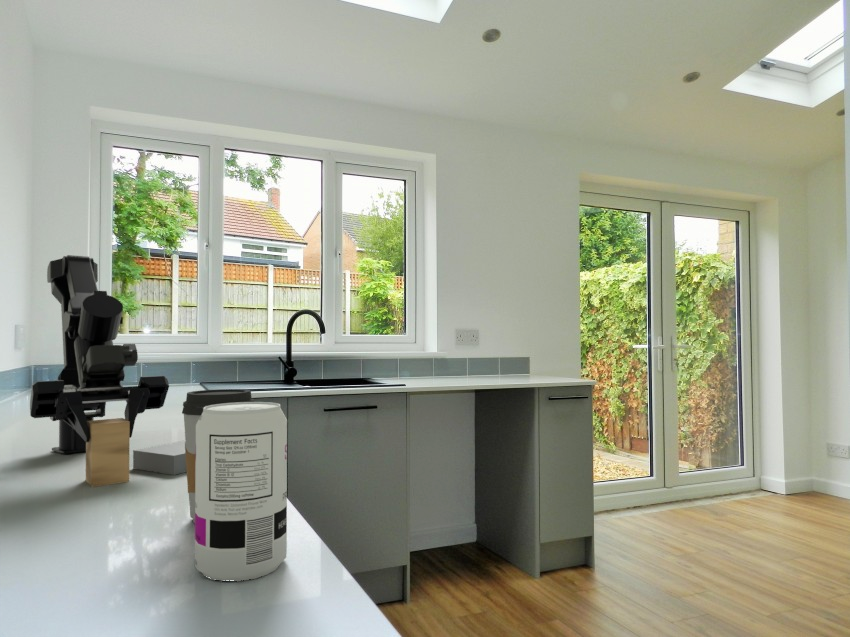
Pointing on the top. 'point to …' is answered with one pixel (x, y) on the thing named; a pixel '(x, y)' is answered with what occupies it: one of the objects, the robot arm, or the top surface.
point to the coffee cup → (191, 417)
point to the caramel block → (107, 452)
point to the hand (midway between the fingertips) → (109, 438)
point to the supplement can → (240, 490)
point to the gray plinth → (161, 458)
